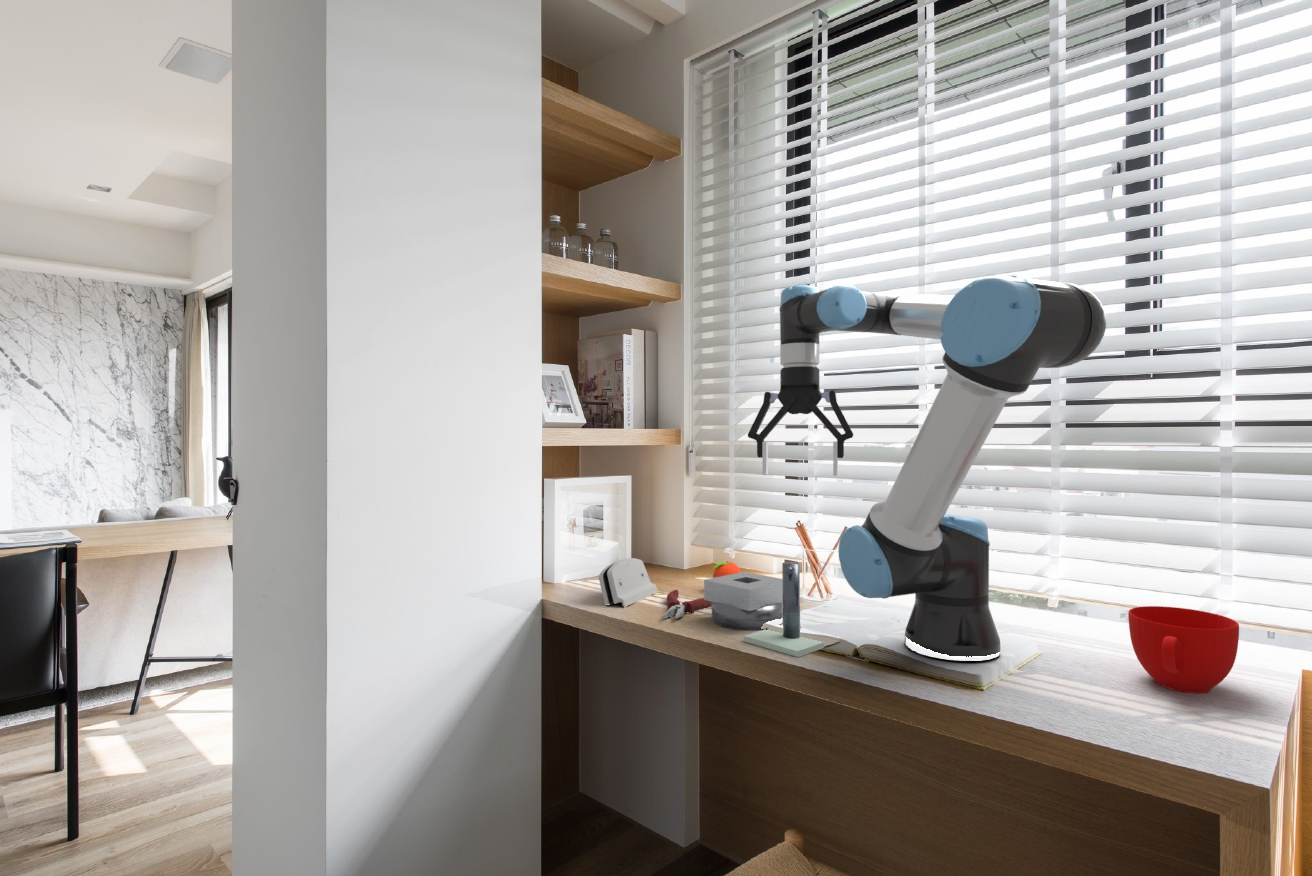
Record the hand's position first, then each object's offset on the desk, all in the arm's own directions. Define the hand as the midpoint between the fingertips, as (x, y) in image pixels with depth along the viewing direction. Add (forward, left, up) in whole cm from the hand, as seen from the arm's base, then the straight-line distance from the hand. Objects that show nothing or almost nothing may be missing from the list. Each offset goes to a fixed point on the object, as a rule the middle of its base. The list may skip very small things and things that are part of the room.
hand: (799, 474), depth 138 cm
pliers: (+24, +10, -30) cm, 40 cm away
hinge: (+39, +13, -29) cm, 50 cm away
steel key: (-7, +12, -28) cm, 31 cm away
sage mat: (-7, +12, -29) cm, 32 cm away
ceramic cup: (-59, -11, -29) cm, 67 cm away
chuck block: (+8, +7, -29) cm, 31 cm away
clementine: (+28, -8, -29) cm, 41 cm away
